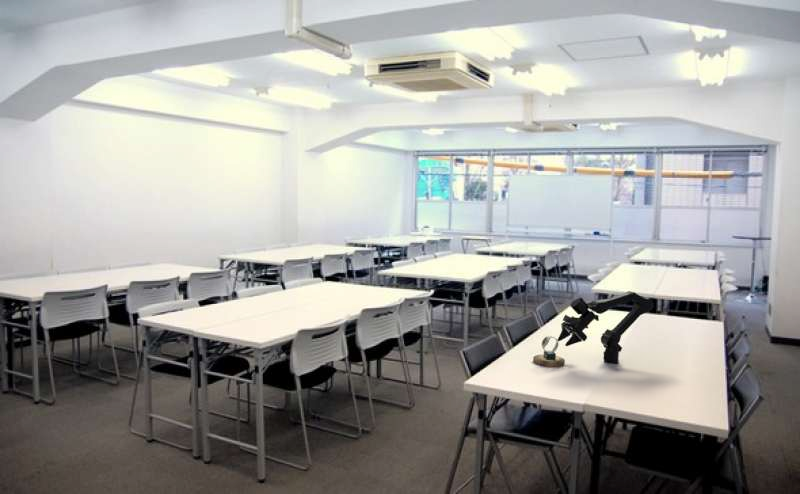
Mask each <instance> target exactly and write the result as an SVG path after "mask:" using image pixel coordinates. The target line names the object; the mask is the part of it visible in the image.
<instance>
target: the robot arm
mask: <svg viewBox="0 0 800 494" xmlns="http://www.w3.org/2000/svg"><path fill="white" fill-rule="evenodd" d="M630 301H632V302H634V303H633V306H632V309H631V310H630V311H629V312H628V313H627V314H626V315H625V316H624V317H623V318H622V319H621V320H620V321H619V323H617V325H616V326H615V327H614V328H612V329H609V328H606V330H605V331H604V332H603V333H602V334H601V337H600V342H601V344H602V345H603V348H605V349H604V350H603V358H602V359H603V363H608V364H617V365H618V364H619V362H620V360H619V357H620V356H619V355H620V352H621V351H622V350H623V347H622V346H621V345H620V344H619V343H620V342H621V338H622V335H624V334H625V332H627V330H628V329H629V328H630V327H631V326H632V325H633V324H634V323H635V322H636V321H637V320H638V319H639V318H640V317H641V316H643V315H644V314H646V313H648V312H649V311H651V310H652V309H653V308H654V304H655V303H654V301H653V299H651V298H649V297H646V296H643V295H642V296H641V295H639V294H638V293H637V292H636V291H631V290H628V291H627V292H623V293H620V294H618V295H615V296H613V297H609V298H605V299H595V300H592V301H590V302H587V303H586V301H585V300H584V299H583V297H578V298H576V299H574V300H572V301H571V303H570V305H569V306H570V307H571V309H572V310H573V311H574V312H575V313H576V314H577V315H579V317H575V316H569V315H567V314H565V315H564V317H563V318H562V321H563V322H562V323H561V324H560V325H561V331H560V334H559V336H558V338H557V340H558V342H561V341H563V340H565V339H567V338H569V339H568V340H567V341H566V343H565V344H564V345H565V346H566V347H568V346H571V345H574V344H578V343H580V342H581V343H582V342H585V341H587V339H588V336H587V334H586V333H585V332H584V330H585V329H587V330H588V329H589V325H590V324H591V323H592V322H593V321H597V322H599V320H600V319H599V315H601V314H604V313H606V312H608V311H609V310H610V309H611V308H613V307H616V306H619V305H622V304H625V303H628V302H630ZM595 313H596V314H595ZM598 314H599V315H598ZM569 336H570V337H569Z"/></svg>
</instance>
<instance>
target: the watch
mask: <svg viewBox="0 0 800 494" xmlns="http://www.w3.org/2000/svg"><path fill="white" fill-rule="evenodd" d="M550 339H555V341H556V342H555V345H554V347H553V348H552V350H546V346H547V345H548V344H549V343H550ZM541 347H542V349H543V355H544V358H545V359H546V360H556V356H557V355H556V354H557V353H556V351H557V349H558V347H559V341H558V338H556V337H555V336H552V335H548V336H545V337H543V339H542V341H541Z"/></svg>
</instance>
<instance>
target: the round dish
mask: <svg viewBox="0 0 800 494" xmlns="http://www.w3.org/2000/svg"><path fill="white" fill-rule="evenodd" d="M532 358H533V360H532V361H533V363H534V364H535V365H537V366H540V367H541V366H542V367H546V368H561V367H564V366H565V363H566V362H565V361H566V360H565V358H563V357H561V356H558V355H556V360H546V359H545V358H544V354H537V355H536V354H535V355H534V356H533V357H532Z"/></svg>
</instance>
